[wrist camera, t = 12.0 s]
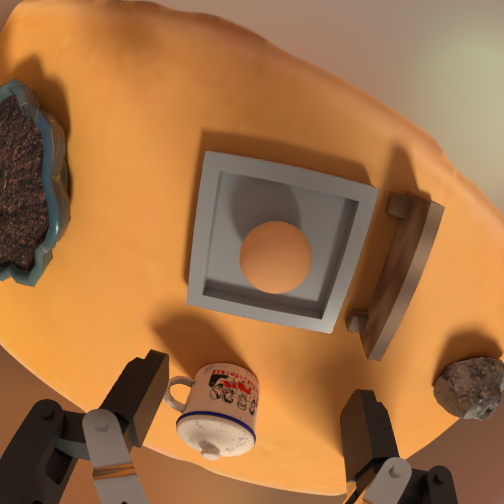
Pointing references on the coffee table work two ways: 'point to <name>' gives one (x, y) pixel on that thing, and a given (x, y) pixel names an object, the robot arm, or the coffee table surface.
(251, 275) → the ball
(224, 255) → the tray
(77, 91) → the coffee table surface
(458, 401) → the mineral rock
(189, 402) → the teacup with lid
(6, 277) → the bonsai tree
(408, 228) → the fence
